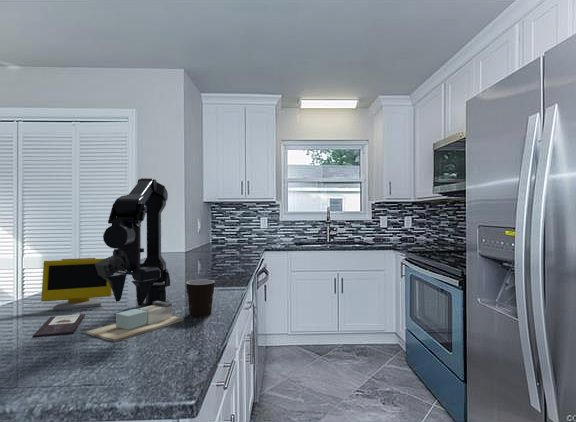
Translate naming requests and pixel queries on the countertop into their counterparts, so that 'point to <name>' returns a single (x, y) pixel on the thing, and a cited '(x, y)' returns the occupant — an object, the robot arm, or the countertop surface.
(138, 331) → the board
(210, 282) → the coffee mug
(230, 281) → the countertop surface
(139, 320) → the stub
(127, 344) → the countertop surface
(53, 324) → the chocolate bar
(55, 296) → the toy computer monitor
